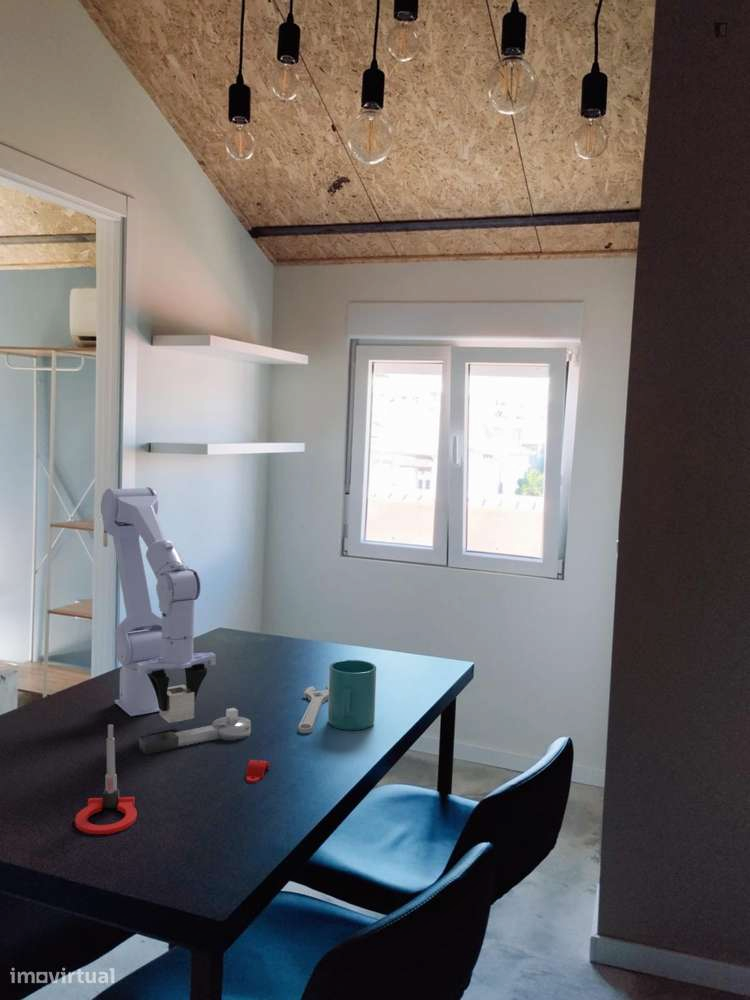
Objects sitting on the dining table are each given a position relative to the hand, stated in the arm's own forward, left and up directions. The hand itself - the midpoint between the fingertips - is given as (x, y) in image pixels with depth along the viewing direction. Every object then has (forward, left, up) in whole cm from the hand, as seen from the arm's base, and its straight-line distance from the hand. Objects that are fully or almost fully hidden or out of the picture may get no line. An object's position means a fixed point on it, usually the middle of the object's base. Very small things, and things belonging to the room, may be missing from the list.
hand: (176, 707), depth 157 cm
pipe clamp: (+25, +4, -5) cm, 25 cm away
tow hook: (+28, -22, -5) cm, 36 cm away
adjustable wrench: (+4, +27, -5) cm, 28 cm away
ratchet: (+7, +1, -4) cm, 8 cm away
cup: (+15, +29, -5) cm, 33 cm away
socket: (0, 0, -2) cm, 2 cm away
